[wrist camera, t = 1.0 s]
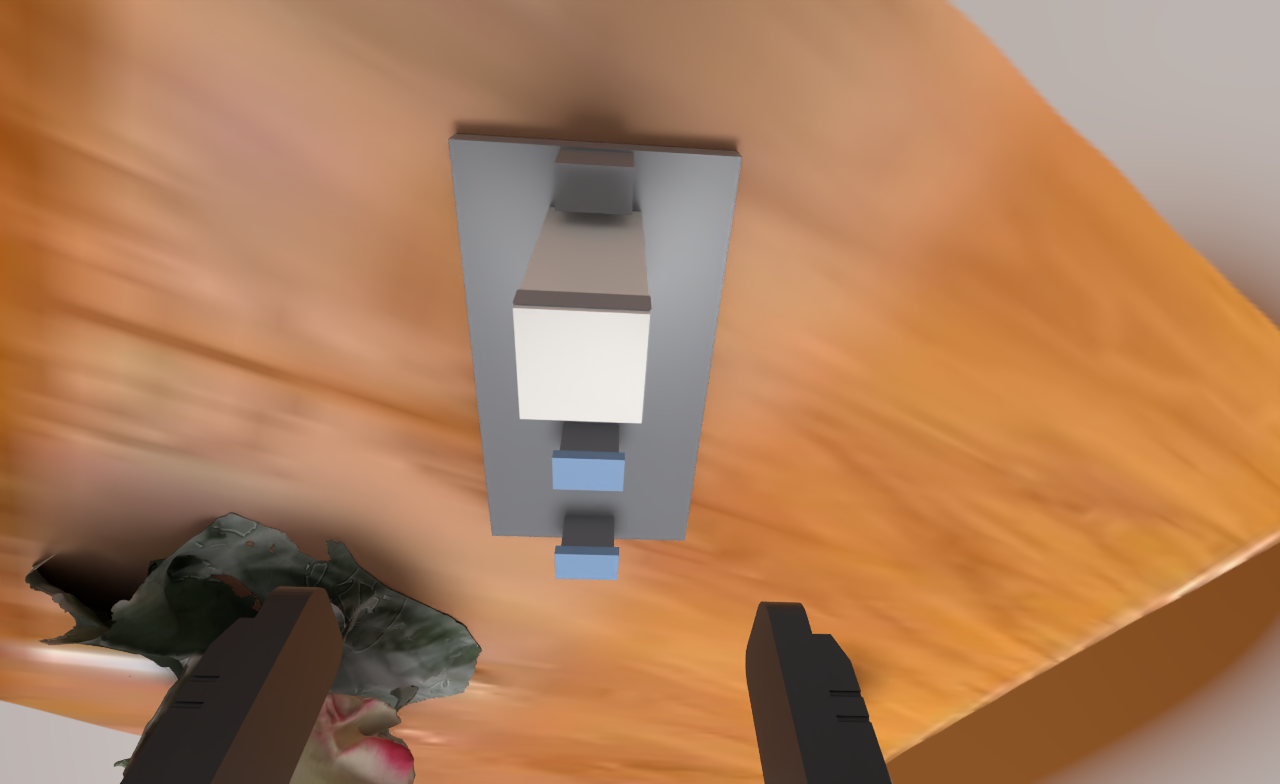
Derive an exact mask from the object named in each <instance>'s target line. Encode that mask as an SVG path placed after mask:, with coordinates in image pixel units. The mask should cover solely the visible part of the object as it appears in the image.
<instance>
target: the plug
mask: <svg viewBox="0 0 1280 784" xmlns="http://www.w3.org/2000/svg"><path fill="white" fill-rule="evenodd" d="M512 310H513V326H514V342H515V357H516V373H517V389H518V404H519V417H520V419H533V420H561V421H588V422H615V423H642V421H643V413H644V400H645V388H646V375H647V363H648V350H649V337H650V325H651V312H652V308H651V296H649V294H648V282H647V269H646V257H645V244H644V232H643V220H642V212H634V211H632V215H620V214H602V213H584V212H566V211H555V207H549V209H548V212H547V215H546V217H545V220H544V223H543V226H542V229H541V231H540V234H539V237H538V240H537V242H536V245H535V248H534V251H533V253H532V256H531V259H530V262H529V265H528V267H527V270H526V273H525V276H524V278H523V281H522V284H521V287H520V289H517V291H516V294H515V297H514V300H513V302H512Z"/></svg>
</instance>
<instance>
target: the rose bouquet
mask: <svg viewBox="0 0 1280 784" xmlns="http://www.w3.org/2000/svg"><path fill="white" fill-rule="evenodd" d="M248 541H252V542H253V543H254V546H253V547H252V546H247V545H246V542H248ZM326 542H327V541H326ZM273 544H274V549H273V553H270V552H269V549H271V548H272V545H273ZM275 544H276V545H275ZM327 546H328V554H329V555H330V557H331V560H330V561H328V562H327V561H317V560H315V559H313V558H312V557H310V556H308V555H306V554H304V553H302V552H300V551H299V550H297V548H298V547H297V545H296V544H294V543H293V542H292V541H291V540H290V539H289V538H288V537H287V536H286V532H284V533H282V532H280V530H278V531H277V530H276V529H272V528H271V527H269V528H268V527H267V526H264V527H263V526H262V525H261V524H260V523H259V522H255V521H251V520H248V519H245V518H243V517H240V516H238V515H236V514H232V513H230V514H228V515H227V516H225V517H220V518H217V519H216V520H215V522H214V524H213V522H212V525H211V526H208V527H207V528H206V529H205V530H204V531H203V532H201V534H198V535H197V536H194V537H193V538H192V539H190V540H189V541H187V542H186V543H185V544H184V545H183V546H182V547H180V548H179V549H177V550H176V552H175V553H173V554H172V555H171V556H169V557H167V559H163V560H158V561H153V562H152V561H150V564H149V569H148V575H149V574H151V575H150V576H148V577H147V578H146V579H145V583H143V584H141V585H140V586H139V588H138V590H137V591H136V593H135V594H134V595H133V597H132V599H131V600H130V601H127V600H121V601H119V602H118V603H116V604H115V605H114V606H113V608H112V609H111V612H113V613H114V614H112V615H111V616H112V619H109V618H108V616H107V615H106V614H105V613H104V612H101V611H98V610H94V609H91V608H88V607H86V606H85V605H83V604H82V603H81V602H80V601H79V600H78V599H77V598H76V597H75V596H73V595H72V594H70V593H65V592H64V591H63V590H62V589H60V588H58V587H55V586H52V585H50V584H49V583H48V582H47V581H46V580H45V579H44V578H43V577H42V576H41V575H40V574H39V572H38V570H37V568H38V567H39V566H41V565H42V564H43V563H45V562H46V561H47V560H48V559H50V558H52V557H53V556H54V555H53V556H51V557H49V558H47V559H46V560H44V561H42V562H40V563H39V564H37V565H35V566H33V569H32V570H31V571H30V572H29V574H28V575H27V576H26V578H25V581H26V583H29V584H30V587H31V589H33V588H34V590H36V591H42V592H44V593H46V594H48V595H51V596H52V597H53V598H52V600H54V602H56V603H59V605H60V607H61V608H62V609H64V610H65V613H66V612H69V613H70V614H71V615H72V616H73V617H74V618H75V620H76V626H74V627H73V628H74V629H72V630H70V631H69V632H67V633H66V634H64V635H63V636H59V637H57V638H54V639H43V640H40V641H41V643H45V644H48V645H60V644H85V645H92V646H100V647H106V648H110V649H114V650H119V651H124V652H128V653H132V654H141V655H143V656H144V657H146V658H148V659H150V660H152V661H154V662H155V663H156V664H158V665H159V666H161V667H170V668H171V670H172V671H173V672H174V673H175V674H176V676H177V678H178V681H177V682H176V683H175V684H174V685H173V686H172V687H171V688H170V689H169V690H168V692H167V694H166V696H165V697H164V699H163V701H162V703H161V705H160V707H159V708H158V710H157V712H156V713H155V715H154V717H153V718H152V719H151V720H150V721H149V722H148V723H147V725H146V727H145V729H144V731H143V734H142V736H141V739H140V741H139V743H138V745H137V747H136V749H135V751H134V752H133V755H132V757H131V758H129V759H124V760H121V761H118V762H116V763H115V764H114V766H123V767H124V768H125V770H124V772H123V776H124V777H125V775H126V774H127V772H128V771H129V769H130V768H131V766H132V764H133V763H134V761H135V760H136V758H137V757H138V755H139V754H140V752H141V751H142V749H143V747H144V746H145V744H146V743H147V741H148V740H149V738H150V737H151V735H152V734H153V732H154V730H155V729H156V727H157V726H158V724H159V723H160V721H161V720H162V718H163V717H164V715H165V713H166V712H167V710H168V709H169V708H172V706H173V704H174V702H173V701H174V699H175V698H176V696H177V695H178V693H179V692H180V690H181V689H182V687H183V686H184V684H185V682H188V681H189V680H190V675H191V673H192V672H193V670H194V669H195V667H196V665H197V664H198V662H199V661H200V659H201V658H202V656H203V655H204V653H205V652H206V650H207V648H208V647H209V645H210V644H211V643H212V642H213V641H214V640H215V639H217V638H218V637H219V636H220V635H221V634H222V633H223V632H224V631H225V630H227V629H228V628H229V627H230V626H231V625H232V624H233V623H234V622H236V621H237V620H238V619H239V618H255V617H256V615H257V614H258V612H257V611H255V610H253V609H252V607H253V606H254V604H255V600H254V599H257V598H254V596H252V595H248V596H246V597H244V598H240V597H239V596H237V595H236V594H235V593H234V591H233V589H232V587H231V586H230V585H228V584H226V583H224V582H223V581H220V580H218V579H216V578H215V577H212V576H211V575H231V576H233V577H235V578H236V579H237V580H238V581H239V582H241V583H242V584H243V585H244V586H245V587H247V588H248V589H249V590H250V591H251V592H252V594H255V595H256V596H257V597H258V599H259V600H260V602H261V607H262V605H263V604H264V602H265V600H266V599H267V597H268V596H269V594H270V593H271V592H272V591H273V590H274V589H275V588H277V587H280V586H283V587H319V588H324V589H325V590H326V592H327V594H328V597H329V600H330V603H331V605H332V608H333V611H334V614H335V617H336V620H337V623H338V626H339V628H340V631H341V634H342V639H343V650H342V657H341V661H340V665H339V668H338V671H337V674H336V676H335V678H334V681H333V683H332V685H331V688H330V690H329V692H328V695H327V697H326V699H325V701H324V704H323V706H322V708H321V711H320V713H319V715H318V718H317V720H316V722H315V725H314V727H313V729H312V732H311V734H310V736H309V739H308V741H307V743H306V746H305V748H304V750H303V753H302V755H301V757H300V759H299V762H298V764H297V766H296V769H295V771H294V773H293V776H292V778H291V780H290V783H289V784H413V781H414V778H415V772H414V764H413V762H414V758H413V756H412V754H411V752H410V749H408V746H407V745H406V744H405V743H404V741H403V740H402V739H400V738H396V737H395V736H392V735H391V734H389V729H388V728H390V727H393V726H395V725H397V724H400V723H401V719H400V718H399V716H398V715H397V714H396V713H397V712H398V710H399V709H400V708H402V707H403V706H405V705H407V704H408V703H415V702H417V701H421V700H426V699H431V698H436V697H438V698H439V697H444V696H445V697H446V696H451V695H455V694H459V693H463V692H464V691H465V690H464V689H465V688H466V687H467V686H468V685H469V682H468V681H469V680H470V679H471V678H472V676H473V674H474V672H475V666H476V663H477V662H476V657H478V655H479V653H480V652H481V651H482V650H481V648H480V646H479V645H478V644H477V643H476V642H475V641H474V639H473V638H472V636H471V635H470V633H469V632H468V630H467V629H466V628H465V627H464V626H463V625H461V624H460V623H458V622H456V621H455V620H454V619H453V618H451V617H449V616H448V615H445V614H443V613H441V612H438V611H436V610H434V609H432V608H430V607H428V606H425V605H423V604H421V603H419V602H417V601H414V600H412V599H410V598H408V597H406V596H404V595H401V594H399V593H397V592H395V591H393V590H390V589H388V588H386V587H385V586H384V585H382V584H381V583H380V582H379V581H377V580H376V579H375V578H373V577H372V576H371V575H370V574H368V573H367V572H366V571H364V570H363V569H362V568H360V567H359V566H358V565H357V564H356V562H355V560H354V559H353V557H352V556H351V554H350V553H349V551H348V550H347V548H346V547H345V545H344V544H343V543H342V542H338V543H337V544H336V543H335V542H334V541H333V540H331V541H329V542H327ZM58 553H59V552H58ZM58 553H56V554H58ZM56 554H55V555H56ZM154 562H155V563H156V564H157V565H155V566H153V563H154ZM477 645H478V646H479V647H478V646H477ZM129 677H130V676H129Z"/></svg>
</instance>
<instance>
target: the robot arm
mask: <svg viewBox="0 0 1280 784" xmlns="http://www.w3.org/2000/svg"><path fill="white" fill-rule="evenodd" d="M342 650H343V639H342V634H341V631H340V628H339V626H338V623H337V620H336V617H335V614H334V611H333V608H332V605H331V603H330V600H329V597H328V594H327V592H326V590H325V589H324V588H319V587H283V586H280V587H277V588H275V589H274V590H273V591H272V592H271V593H270V594H269V596H268V597H267V599H266V600H265V602H264V604H263V605H262V607H261V609H260V610H259V612H258V614H257V615H256V617H255V618H239V619H238V620H237V621H236V622H234V623H233V624H232V625H231V626H230V627H229V628H228V629H227V630H225V631H224V632H223V633H222V634H221V635H220V636H219V637H218V638H217V639H215V640H214V641H213V642H212V643H211V644H210V645H209V647H208V648H207V650H206V652H205V653H204V655H203V656H202V658H201V659H200V661H199V662H198V664H197V665H196V667H195V669H194V670H193V672H192V673H191V675H190V680H189V681H188V682H185V684H184V686H183V687H182V689H181V690H180V692H179V693H178V695H177V696H176V698H175V699H174V701H173V702H174V704H173V706H172V708H169V709H168V710H167V712H166V713H165V715H164V717H163V718H162V720H161V721H160V723H159V724H158V726H157V727H156V729H155V730H154V732H153V734H152V735H151V737H150V738H149V740H148V741H147V743H146V744H145V746H144V747H143V749H142V751H141V752H140V754H139V755H138V757H137V758H136V760H135V761H134V763H133V764H132V766H131V768H130V769H129V771H128V772H127V774H126V775H125V777H124V778H123V780H122V782H121V783H120V784H289V783H290V780H291V778H292V776H293V773H294V771H295V769H296V766H297V764H298V762H299V759H300V757H301V755H302V753H303V750H304V748H305V746H306V743H307V741H308V739H309V736H310V734H311V732H312V729H313V727H314V725H315V722H316V720H317V718H318V715H319V713H320V711H321V708H322V706H323V704H324V701H325V699H326V697H327V695H328V692H329V690H330V688H331V685H332V683H333V681H334V678H335V676H336V674H337V671H338V668H339V665H340V661H341V657H342ZM746 679H747V685H748V691H749V697H750V702H751V708H752V714H753V719H754V725H755V731H756V736H757V742H758V748H759V753H760V759H761V765H762V770H763V776H764V782H765V784H892V782H891V779H890V776H889V773H888V770H887V768H886V764H885V761H884V758H883V755H882V752H881V749H880V747H879V744H878V741H877V738H876V735H875V732H874V729H873V726H872V723H871V722H870V721H869V714H868V711H867V708H866V705H865V702H864V699H863V697H861V694H860V692H861V690H860V687H859V684H858V682H857V679H856V676H855V673H854V670H853V667H852V664H851V661H850V659H849V658H848V657H847V655H846V654H845V653H844V651H843V650H842V649H841V647H840V646H839V645H838V643H837V642H836V641H835V639H834V638H833V637H832V636H831V634H812V631H811V628H810V624H809V621H808V618H807V614H806V611H805V609H804V607H803V605H802V604H801V603H794V602H760V604H759V606H758V609H757V613H756V616H755V620H754V623H753V627H752V631H751V634H750V638H749V641H748V645H747V649H746Z"/></svg>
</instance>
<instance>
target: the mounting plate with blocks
mask: <svg viewBox="0 0 1280 784" xmlns="http://www.w3.org/2000/svg"><path fill="white" fill-rule="evenodd" d="M448 140H449V149H450V158H451V167H452V177H453V186H454V195H455V204H456V213H457V222H458V231H459V240H460V249H461V258H462V267H463V276H464V285H465V294H466V304H467V313H468V322H469V331H470V340H471V349H472V358H473V367H474V376H475V385H476V394H477V403H478V412H479V421H480V431H481V440H482V449H483V458H484V467H485V476H486V485H487V494H488V503H489V512H490V521H491V530H492V536H526V537H562V544H561V546H556V548H555V579H596V580H617V579H618V563H619V547H614V539H640V540H678V541H685V535H686V528H687V521H688V515H689V508H690V501H691V495H692V488H693V481H694V474H695V468H696V461H697V454H698V448H699V441H700V434H701V428H702V421H703V414H704V407H705V401H706V394H707V387H708V381H709V374H710V367H711V361H712V354H713V347H714V340H715V334H716V327H717V320H718V314H719V307H720V300H721V294H722V287H723V280H724V273H725V267H726V260H727V253H728V247H729V240H730V233H731V227H732V220H733V213H734V207H735V200H736V193H737V186H738V180H739V173H740V166H741V160H742V156H741V155H740V154H739V152H738V151H732V150H716V149H700V148H683V147H667V146H651V145H634V144H618V143H602V142H585V141H569V140H553V139H536V138H520V137H504V136H487V135H471V134H454V135H453V136H452V137H451V138H449V139H448ZM549 207H555V211H566V212H584V213H602V214H620V215H632V211H634V212H642V220H643V232H644V244H645V257H646V269H647V282H648V294H649V296H651V308H652V312H651V325H650V337H649V350H648V363H647V375H646V388H645V400H644V413H643V421H642V423H615V422H588V421H561V420H533V419H520V417H519V404H518V389H517V373H516V357H515V342H514V326H513V310H512V302H513V300H514V297H515V294H516V291H517V289H520V287H521V284H522V281H523V278H524V276H525V273H526V270H527V267H528V265H529V262H530V259H531V256H532V253H533V251H534V248H535V245H536V242H537V240H538V237H539V234H540V231H541V229H542V226H543V223H544V220H545V217H546V215H547V212H548V209H549Z"/></svg>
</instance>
